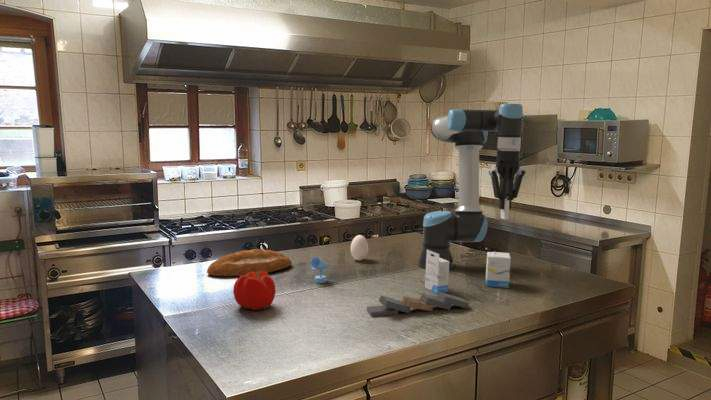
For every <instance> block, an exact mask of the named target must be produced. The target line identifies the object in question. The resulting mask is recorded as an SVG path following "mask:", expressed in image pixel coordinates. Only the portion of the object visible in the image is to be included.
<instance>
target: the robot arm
mask: <svg viewBox="0 0 711 400" xmlns="http://www.w3.org/2000/svg"><path fill="white" fill-rule="evenodd" d="M499 105H500V106H499V109H462V108H456V109H455V108H454V109H450V110H449V112H448V113H447V115H439V116H437V117H435V118H434V119H433V120H432V122H431V123H430V126H429V129H430V134H431V135H432V136H433V138H435V139H436V140H438V141H440V142H444V143H454V145H455V149H456V150H457V151H458V206H457V208H456V209H455V210H454V214H452V212H451V211H449V210H437V211H431V212H428V213H426V214H425V215H424V216H423V223H422V226H423V228H422V249H421V251H420V254H419V255H418V256H419V257H418V259H417V265H418V266H419V267H420V268H423V269H425V270H426V255H427V249H428V250H430V251H433V252H435V253H438V254H439V257H440V258H442V259H444V260H447V261H449V270H451V269H453V268H454V259H453V256H452V252H451V243H476V242H477V243H479V242H482V241H483V240H484V239H485V237H486V235H487V232H488V224H489V223H488V216H487V215H486V214H484V213H483V210H482V209H481V207H480V150H482V148H484V144H485V143H487V142H488V141H487V140H488V136H489V132H494V133H495V132H497V143H496V144H497V145H496V148H497V149H498V150H496V164H495V166H494V168H493V169H492V170H491V169H489V171H488V174H489V176H490V178H491V186H492V191H493V195H494V198H496V199H498V200H499V203H498V209H499V210H500V219H502V220H509V217H510V216H509V215H510V213H509V211H510V210H511V208H512V201H513V200H514V199H517V197H518V195H519V191H520V188H521V185H522V181H523V177H524V176H525V174H526V173H527V172H526V170H523V169H521V168H520V167H521V166H520V159H521V158H520V157H521V152H520V149H521V144H522V143H521V141H522V139H521V138H522V130H523V129H522V126H523V117H524V114H523V112H524V111H523V104H521V103H501V104H499ZM431 256H433V257H435V255H433V254H431Z"/></svg>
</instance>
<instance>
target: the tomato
mask: <svg viewBox="0 0 711 400" xmlns="http://www.w3.org/2000/svg"><path fill="white" fill-rule="evenodd" d="M232 289H233V290H232V292H233V297H234V300H235V302H236V303H237V305H239V306H240V307H242V308H243V309H246V310H249V309H250V310H252V311H258V310H264V309H266V308H267V307H270V306H271V305H272V303H273V302H274V299H275V297H276V284H275V281H274V279H273V278H272V277H271V275H270V274H269V273H267V272H266V271H259V272H257V273H255V272H250V273H247V274H246V275H243V276H238V278H237V279H236V280H235V282H234V284H233V288H232Z"/></svg>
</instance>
